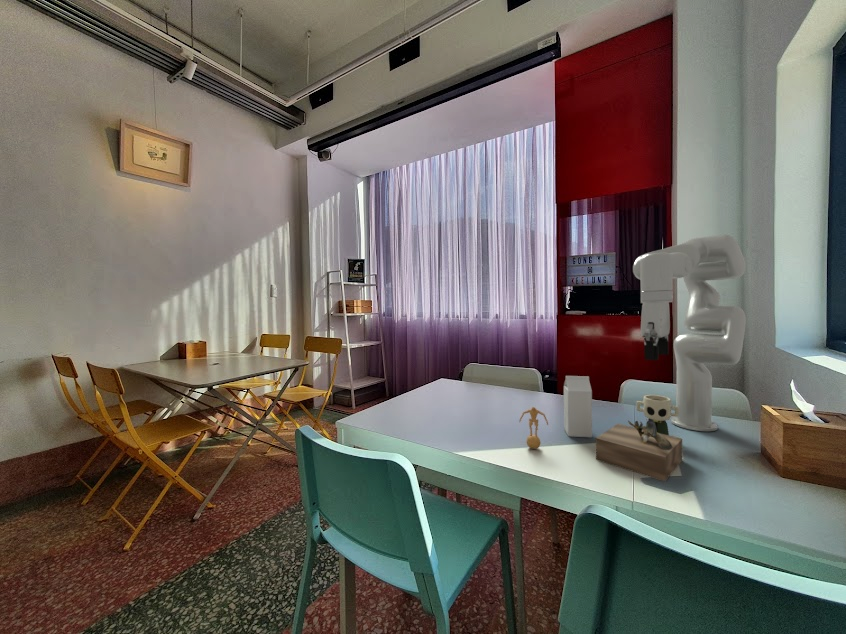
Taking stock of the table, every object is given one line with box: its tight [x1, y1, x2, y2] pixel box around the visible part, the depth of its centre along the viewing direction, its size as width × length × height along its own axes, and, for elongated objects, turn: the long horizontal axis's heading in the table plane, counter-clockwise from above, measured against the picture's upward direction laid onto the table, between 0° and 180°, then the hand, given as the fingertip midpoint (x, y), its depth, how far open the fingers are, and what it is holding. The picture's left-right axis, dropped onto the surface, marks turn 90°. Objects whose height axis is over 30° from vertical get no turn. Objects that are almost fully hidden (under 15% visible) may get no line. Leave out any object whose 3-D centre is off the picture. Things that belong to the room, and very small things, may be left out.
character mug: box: [636, 394, 679, 436], centre depth 107 cm, size 11×7×13 cm, turn 53°
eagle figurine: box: [627, 418, 672, 450], centre depth 90 cm, size 8×7×9 cm
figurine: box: [519, 406, 549, 450], centre depth 103 cm, size 8×6×12 cm
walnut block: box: [595, 423, 683, 482], centre depth 93 cm, size 16×16×6 cm
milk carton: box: [563, 375, 593, 438], centre depth 113 cm, size 7×7×19 cm
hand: (656, 357), depth 98 cm, fingers open, 9 cm apart
